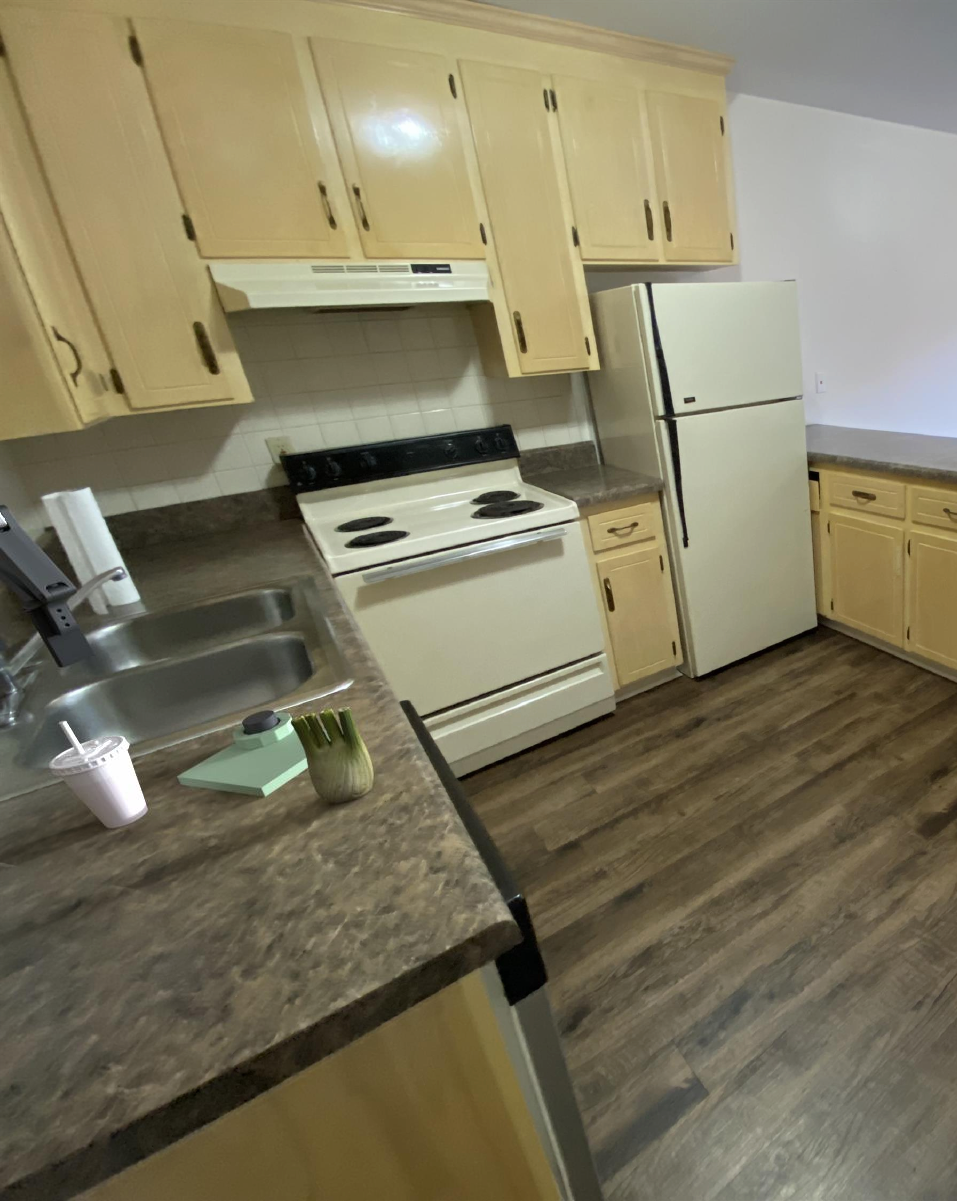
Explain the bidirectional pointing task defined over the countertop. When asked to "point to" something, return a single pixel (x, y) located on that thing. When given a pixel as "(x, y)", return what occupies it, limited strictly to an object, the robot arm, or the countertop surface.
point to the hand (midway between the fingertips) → (33, 658)
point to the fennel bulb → (335, 755)
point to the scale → (252, 761)
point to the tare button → (260, 722)
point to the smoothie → (102, 778)
